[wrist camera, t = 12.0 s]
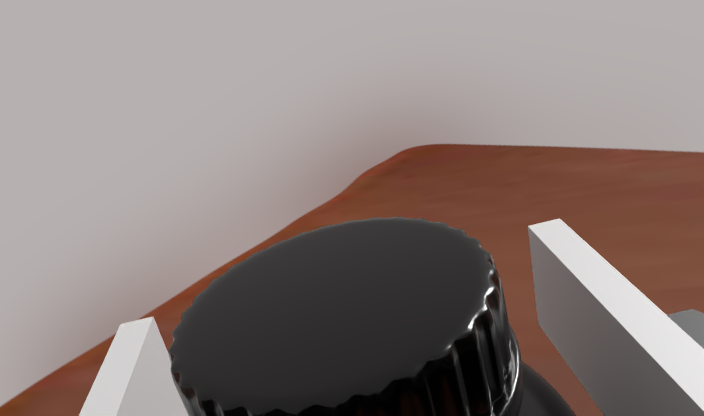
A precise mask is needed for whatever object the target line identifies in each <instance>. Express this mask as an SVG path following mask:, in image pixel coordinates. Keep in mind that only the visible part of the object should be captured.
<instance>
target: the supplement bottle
mask: <svg viewBox="0 0 704 416" xmlns="http://www.w3.org/2000/svg"><path fill="white" fill-rule="evenodd" d="M172 334H173V339H174V341H173V343H172V345H171V346H170V348H169V350H168V353H169V358H170V362H171V374H172V378H173V382H174V384H175V386H176V389H177V391H178V393H179V395H180V398H181V400H182V402H183V404H184V406H185V409H186V411H187V413H188V415H189V416H576V415H575V413H574V412H573V410H572V409H571V408H570V406H569V405H568V404H567V403H566V401H565V400H564V399H563V398H562V397H561V395H560V394H559V393H558V392H557V391H556V390H555V389H554V388H553V387H552V386H551V385H550V384H549V383H548V382H547V381H546V380H545V379H544V378H543V377H542V376H541V375H539V374H538V373H537V372H536V371H534V370H533V369H532V368H531V367H529V366H528V365H527V364H525V363H524V362H522V361H521V355H520V350H519V346H518V342H517V339H516V336H515V334H514V332H513V330H512V328H511V326H510V324H509V323H508V317H507V311H506V305H505V300H504V294H503V288H502V283H501V279H500V276H499V274H498V272H497V270H496V268H495V264H494V261H493V258H492V256H491V254H490V253H489V252H488V251H486V250H484V249H483V248H482V246H481V244H480V241H479V240H477V239H475V238H472V237H469V236H467V235H466V233H465V232H464V230H462V229H457V228H451V227H449V226H448V225H447V224H445V223H442V222H430V221H428V220H426V219H423V218H419V219H408V218H403V217H393V218H370V219H366V220H354V221H348V222H344V223H341V224H336V225H329V226H324V227H322V228H319V229H316V230H314V231H309V232H305V233H301V234H299V235H296V236H294V237H292V238H290V239H287V240H283V241H280V242H277V243H275V244H274V245H272V246H270V247H269V248H267V249H264V250H262V251H259V252H257V253H254V254H253V255H251V256H250V257H248V258H247V259H246V260H244V261H242V262H240V263H238V264H236V265H234V266H232V267H231V268H230V269H229V270H228V271H227V272H225V273H224V274H223V275H221V276H219V277H218V278H216V279H215V280H213V281H212V282H211V283H210V284H209V286H208V287H207V289H205V290H204V291H203V292H201V293H200V294H199V295H197V296H196V297H195V299H194V301H193V304H192V305H191V306H190V307H189V308H188V309H187V310H186V311H185V312H184V313H182V316H181V322H180V324H179V325H178V326H177V327H176V328H175V330H174V331H173V332H172Z"/></svg>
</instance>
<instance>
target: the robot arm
mask: <svg viewBox="0 0 704 416" xmlns="http://www.w3.org/2000/svg"><path fill="white" fill-rule="evenodd" d="M528 232H529V241H530V250H531V260H532V269H533V278H534V288H535V297H536V307H537V316H538V324H539V325H540V327H541V328H542V329H543V331H544V332H545V334H546V335H547V336H548V338H549V339H550V341H551V342H552V343H553V345H554V346H555V348H556V349H557V350H558V352H559V353H560V355H561V356H562V357H563V359H564V360H565V361H566V363H567V364H568V366H569V367H570V368H571V370H572V371H573V373H574V374H575V375H576V377H577V378H578V380H579V381H580V382H581V384H582V385H583V387H584V388H585V389H586V391H587V392H588V393H589V395H590V396H591V398H592V399H593V400H594V402H595V403H596V405H597V406H598V407H599V409H600V410H601V412H602V413H603V414H604V416H704V314H703V313H701V312H698V311H696V310H694V309H690V310H686V311H682V312H678V313H674V314H670V315H666V314H665V313H663V312H662V311H661V310H660V309H659V308H658V307H657V306H656V305H655V304H654V303H652V302H651V301H650V300H649V299H648V298H647V297H646V296H645V295H644V294H642V293H641V292H640V291H639V290H638V289H637V288H636V287H635V286H634V285H633V284H631V283H630V282H629V281H628V280H627V279H626V278H625V277H624V276H623V275H621V274H620V273H619V272H618V271H617V270H616V269H615V268H614V267H613V266H612V265H610V264H609V263H608V262H607V261H606V260H605V259H604V258H603V257H602V256H600V255H599V254H598V253H597V252H596V251H595V250H594V249H593V248H592V247H590V246H589V245H588V244H587V243H586V242H585V241H584V240H583V239H582V238H581V237H579V236H578V235H577V234H576V233H575V232H574V231H573V230H572V229H571V228H569V227H568V226H567V225H566V224H565V223H564V222H563V221H562V220H561V219H556V220H551V221H547V222H543V223H539V224H535V225H531V226H528ZM79 416H189V415H188V413H187V411H186V409H185V406H184V404H183V402H182V400H181V398H180V395H179V393H178V391H177V389H176V386H175V384H174V382H173V378H172V374H171V362H170V358H169V355H168V352H167V350H166V347H165V345H164V342H163V340H162V337H161V335H160V332H159V330H158V327H157V325H156V322H155V320H154V317H149V318H145V319H140V320H136V321H132V322H128V323H124V324H121V325H120V327H119V329H118V331H117V333H116V336H115V338H114V340H113V342H112V344H111V346H110V349H109V351H108V353H107V355H106V357H105V360H104V362H103V364H102V366H101V368H100V371H99V373H98V375H97V377H96V379H95V382H94V384H93V386H92V388H91V390H90V393H89V395H88V397H87V399H86V401H85V403H84V406H83V408H82V410H81V412H80V414H79Z"/></svg>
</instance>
